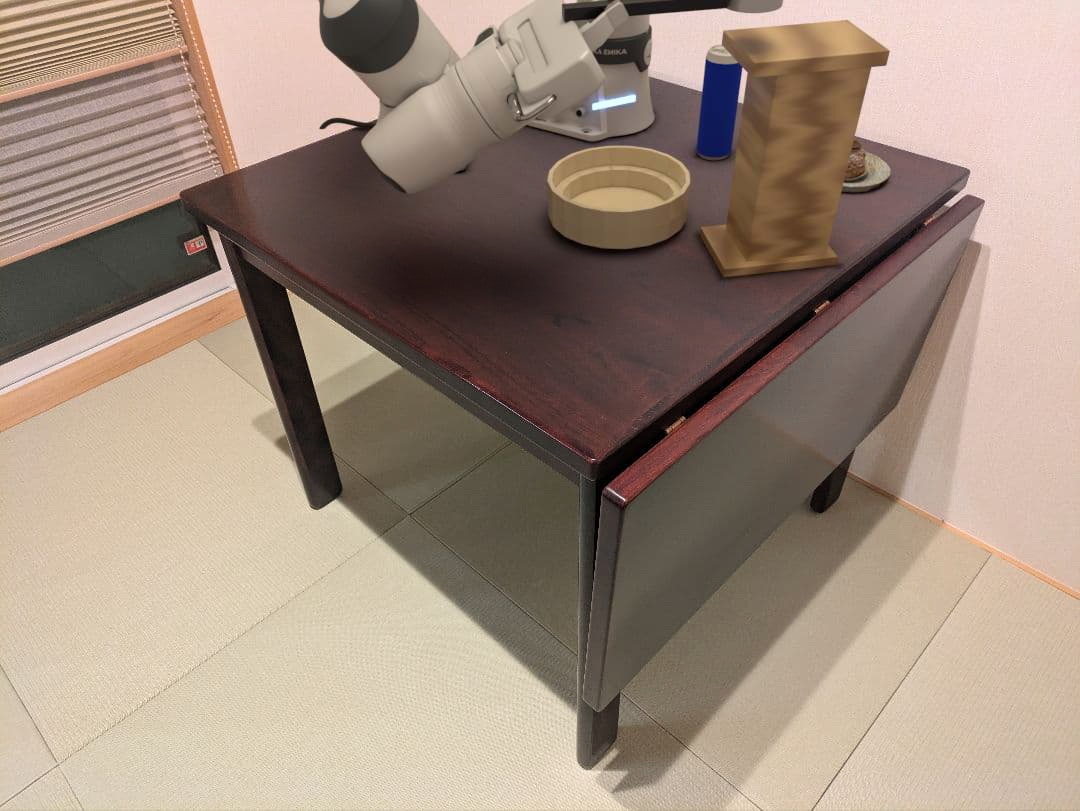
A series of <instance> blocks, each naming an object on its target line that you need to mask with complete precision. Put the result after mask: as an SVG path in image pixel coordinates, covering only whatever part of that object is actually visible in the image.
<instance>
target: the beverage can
mask: <svg viewBox="0 0 1080 811" xmlns="http://www.w3.org/2000/svg"><path fill="white" fill-rule="evenodd" d="M705 55H706V56H705V61H704V72H703V79H702V80H703V81H702V91H701V100H700V111H699V120H698V131H697V137H696V138H697V139H696V148H695V149H696V150H695V151H696V152H697V154H698V156H699V157H701V158H702V159H705V160H708V161H721V160H724V159H726V158H727V157H729V155H730V154H731V153H732V148H733V141H734V134H735V127H736V119H737V113H738V111H737V110H738V104H739V98H740V97H739V96H740V90H741V81H742V74H743V69H744V68H743V67H742V66H741V65H740V64H739V63H738V62H737V61H736V60H735V59H734V57H733V56H732V55H731V54H730V53H729V52H728V51H727V50H726V49H725V48H724V47H723V46H722V44H716V45H713V46H711V47H710V48H709V49H708V50H707V53H706V54H705Z"/></svg>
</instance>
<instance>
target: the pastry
mask: <svg viewBox="0 0 1080 811" xmlns="http://www.w3.org/2000/svg"><path fill="white" fill-rule="evenodd" d="M891 171H892V170H891V167H890V166H889V164H888V163H887V162H886V161H885V160H883V159H882V158H880V157H879V156H877V155H876V154H873V153H871V152H868V151H865V150H864V149H863V148H862V143H861V142H860V141H858V140H854V141H853V146H852V150H851V154H850V158H849V162H848V166H847V170H846V174H845V179H844V183H843V187H842V191H841V193H842V192H843V193H861V192H862V193H863V192H869V191H871V190H872V189H875V188H877V187H879V186H880V185H881V184H882V183H884V182H885V181H886V180H888V179H889V178H890V177H891V173H892V172H891Z"/></svg>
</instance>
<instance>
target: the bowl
mask: <svg viewBox="0 0 1080 811" xmlns="http://www.w3.org/2000/svg"><path fill="white" fill-rule="evenodd" d="M546 182H547V183H546V184H547V187H546V188H547V213H548V214H547V216H548V218H549V221H550V223H551V226H552V228H554V229H555V230H556V231H557V232H559V233H560V235H562V236H563V237H564V238H567V239H569V240H572V241H574V242H577V243H579V244H581V245H583V246H589V247H595V248H600V249H609V250H610V249H612V250H614V249H616V250H628V249H636V248H642V247H649V246H652V245H654V244H657V243H660V242H663V241H665V240H666V241H667V240H668V239H669V238H671V237H673V236H674V235H675V234H677V233H678V232H679V231H681V230H682V228H683V227H684V225H685V223H686V221H687V220H688V211H689V200H690V191H691V172H690V170H689V169H688V168H687V167H686V166H685V164H684V163H683V162H682V161H680V160H678V159H677V158H675V157H674V156H671V155H670V154H669V153H665V152H662V151H659V150H657V149H656V150H655V149H653V148H650V147H649V148H647V147H642V146H635V145H605V146H604V145H603V146H597V147H589V148H585V149H582V150H578V151H575V152H572V153H570V154H568V155H566V156H564V157H563V158H561V159H559V160H558V161H556V162H555V164H554V165H553V166H552V167H551V168H550V169H549V171H548V176H547V179H546Z"/></svg>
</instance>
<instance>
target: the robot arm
mask: <svg viewBox="0 0 1080 811" xmlns="http://www.w3.org/2000/svg"><path fill="white" fill-rule="evenodd" d="M317 1H318V3H319V16H318V19H319V20H318V23H319V24H318V25H319V26H318V27H319V35H320V40H321V41H322V43H323V46H324V47H325V48H326V49H327V51H329V52H330V53H331V54H332V55H333V56H334V57H336V58H337V59H338V60H339V61H340V62H341V63H342V64H343V65H345V66H346V67H347V68H348V69H350V70H351V71H352V73H354V75H356V76H357V78H358V79H359V80H360V81H361V82H362V83H363V84H364V85H365V86H366V87H367V89H369V90H370V91H371V92H372V94H374V96H376V97H377V98H378V99H379V100H378V101H379V111H378V117H377V121H376V123H374V122H364V121H358V120H354V119H351V118H345V117H344V118H343V117H331V118H329V119H326V120H325V121H324V122H322V123H321V125H320V126H319V130H325V129H326V128H327V127H329V126H330V125H333V124H342V125H343V124H344V125H347V126H353V127H356V128H361V129H370V130H369V131H368V132H367V133H366V134H365V135H364V137H363V138H362V139H361V147H362V151H363V153H364V155H365V157H366V159H367V160H368V161H369V163H370V165H371V166H372V167H373V168H374V169H375V170H376V171H377V172H378V173H379V175H380V177H382V178H383V179H384V180H385V181H386V182H387V183H388V184H390V186H391V187H393V189H395V190H396V191H398V192H400V193H403V194H406V195H413V194H417V193H420V192H423V191H426V190H428V189H430V188H432V187H433V186H436V185H437V184H439V183H441V182H443V181H444V180H446V179H448V178H449V177H451V176H453V175H455V174H456V173H457V172H460V171H459V170H460V169H462V168H463V167H465V166H466V167H467V166H468V165H469V164H470V163H471V162H472V161H473V160H474V159H475V158H476V157H477V155H478V154H479V153H480V152H481V151H483V150H484V149H486V148H488V147H490V146H493V145H496V144H499V143H501V142H503V141H504V140H506V139H508V138H509V137H510V136H512V135H513V134H515V133H516V132H518V131H520V130H521V129H522V128H524V127H525V126H529V127H533V128H537V129H541V130H545V131H547V132H551V133H555V134H559V135H563V136H567V137H571V138H575V139H579V140H582V141H587V142H599V141H602V140H605V139H607V138H611V137H619V136H620V137H621V136H626V135H631V134H635V133H638V132H641V131H643V130H645V129H648V128H649V127H650V126H651V125H652V124H653V123H654V122H655V118H656V117H655V113H654V108H653V104H652V98H651V97H652V96H651V90H650V73H649V72H650V71H649V67H650V65H651V60H652V53H653V39H652V38H653V27H652V25H651V24H650V19H651V15H639V16H629V15H628V13H627V11H626V9H625V7H624V5H623V4H622V2H621V1H620V0H615V1H613V2H612V3H611V4H609V5H608V6H606V7H605V8H603V10H604V11H605V12H603V13H602V14H600V15H599V16H598V17H597V18H596V19H590V20H578V21H566V22H565V21H564V19H563V17H562V4H566V3H565V1H564V0H533V1H532V2H530V3H529V4H527V5H526V6H524V7H523V8H521V9H519V10H518V11H516V12H515V13H513V14H512V15H510V16H509V17H508V18H506V19H504V20H503V21H502V23H501V24H500V25H499V27H498V28H497V27H496V26H495V25H494V24H490V25H488V26H486V27H485V28H484V29H483V30H481V31H480V32H479V33H478V34H477V37H476V39H475V42H474V44H473V46H472V48H471V49H470V50H469V51H468V52H467V53H466V55H464V56H463V57H462V58H461V57H460V55H459V54H458V53H457V51H456V50H455V49H454V48H453V47H452V45H451V44H450V43H449V41H448V39H446V37H445V36H444V35H443V33H442V32H441V31H440V29H439V28H438V27H437V25H436V24H435V23H434V22H433V20H432V19H431V18H430V17H429V15H428V14H427V13H426V11H425V10H424V9H423V8H422V6H421V5H420V4H419V3H418V1H417V0H317ZM592 1H604V0H575V3H579V2H592Z"/></svg>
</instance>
